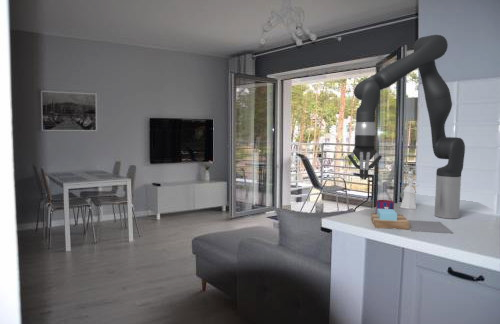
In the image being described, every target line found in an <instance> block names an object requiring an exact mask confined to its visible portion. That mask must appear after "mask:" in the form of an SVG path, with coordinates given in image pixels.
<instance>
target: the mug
mask: <svg viewBox="0 0 500 324" xmlns="http://www.w3.org/2000/svg"><path fill="white" fill-rule="evenodd" d="M394 205H395V202H394V200H390V199H377V200H376V212H375V213H376V214H377V209H393V210H394V211H395V209H394V207H395V206H394Z"/></svg>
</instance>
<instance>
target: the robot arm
mask: <svg viewBox="0 0 500 324" xmlns="http://www.w3.org/2000/svg"><path fill="white" fill-rule="evenodd" d="M448 45H449V44H448V40H447V38H446V37H445V36H443V35H440V34H432V35H427V36H426V35H425V36H422V37H418V38H417V39H416V41H415V42H414V45H413V52H412V53H410V54H408V55H406V56H403V57H402V58H399V59H397V60H395V61H393V62H391V63H390V64H387V66H385V67H383V68H381V69H380V70H379V71H378V72H376V73H375V74H372V75H371V76H369V77H367V78H365V79H363V80H362V81H360V82H359V83H357V84H356V85H355V87H354V90H353V95H354V97H355V98H356V99H357V100H358V101H359V100H360V101H361V102H360V105H359V107H357V109H356V113H355V114H356V115H355V125H354V126H355V127H354V146H353V147H354V148H353V150H352V152H351V153H350V154H347V158H348V159H349V160H350V162H351V163H352V165H353V166H354V167H355V169H359V178H360V180H363V181H364V180H367V179H368V178H369V170H370V169H374V167H375V166H376V165H377V164H378V163H379V161H380V160H381V159H382V158H383V157H382V155H380V154H379V153H378V152H377V150H376V133H377V131H376V129H377V128H376V110H377V108H378V107H377V106H378V104H379V100H380V94H381V91H382V90H384V89H387V88H389V87H391V86H392V85H394V84H395V83H396V82H399V80H401V79H403V78H404V77H407V75H409V74H411V73H412V72H414V71H416V70H417V69H418V72H419V74H420V75H419V76H420V79H421V85H422V89H423V94H424V99H425V104H426V109H427V110H426V111H427V113H428V114H427V115H428V118H429V125H430V132H431V145H432V146H431V147H432V150H433V154H434V156H435V157H436V158H437V159H439V160H440V159H441V160H447V164H445V165H444V166H441V167H438V168H437V169H436V173H435V176H436V178H435V197H434V200H435V201H434V217H437V218H441V219H442V218H443V219H450V220H452V219H453V220H454V219H459V218H460V206H461V205H460V203H461V185H462V184H461V183H462V182H461V180H462V171H463V169H464V163H465V162H464V161H465V154H466V153H465V152H466V145H465V142H464V140H463V138H461V137H456V136H455V137H452V136H451V137H450V136H447V135H446V130H445V129H446V128H445V127H446V126H445V125H446V122H447V120H448V117H449V116H450V113H451V111H452V106H453V101H452V95H451V92H450V91H451V90H450V88H449V86H448V84H447V83H446V81H445V80H444V78H443V77H442V76H441V75H440V73H439V72H438V69H437V64H436V60H438V59H440V58H442V57H443V56H444V55H445V54H446V52H447V50H448V47H449V46H448ZM355 157H356V159H357V160H358V161H359V162H358V164H357V162H356V161H355V159H354V158H355ZM373 158H374V160H373V161H372V162H371V163H370V161H371V160H372V159H373Z"/></svg>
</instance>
